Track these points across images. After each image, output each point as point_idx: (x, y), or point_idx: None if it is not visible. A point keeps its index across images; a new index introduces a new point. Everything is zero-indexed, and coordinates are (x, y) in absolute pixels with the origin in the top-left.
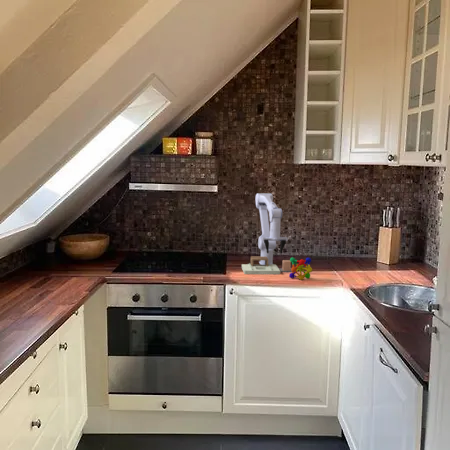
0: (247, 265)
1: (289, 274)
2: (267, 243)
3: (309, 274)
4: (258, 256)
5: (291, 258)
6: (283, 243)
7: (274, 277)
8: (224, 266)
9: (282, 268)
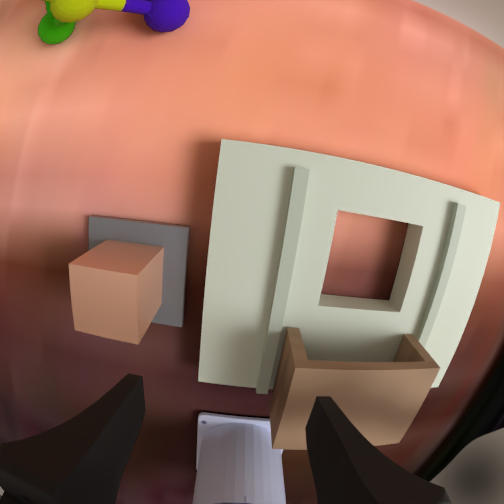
0: None
1: (185, 9)
2: (401, 494)
3: (45, 15)
4: None
5: None
6: (39, 458)
7: (309, 50)
8: (482, 388)
9: (160, 294)
